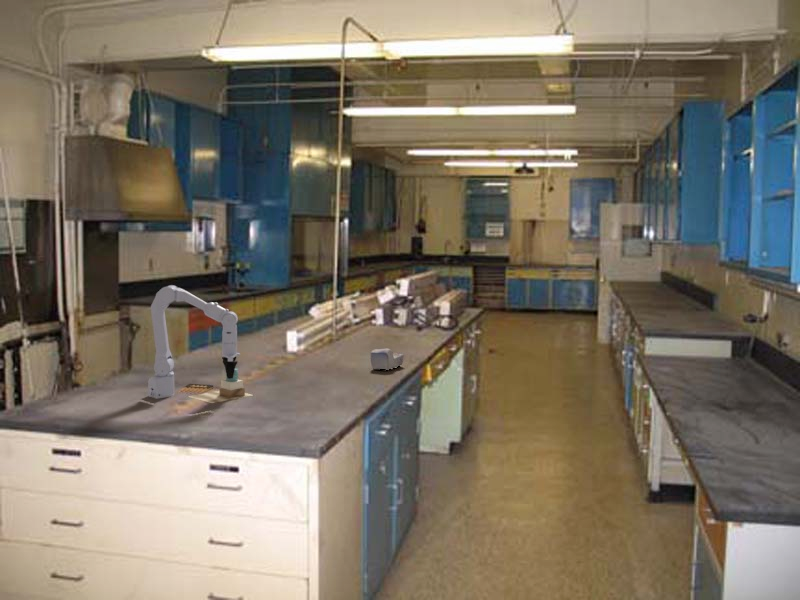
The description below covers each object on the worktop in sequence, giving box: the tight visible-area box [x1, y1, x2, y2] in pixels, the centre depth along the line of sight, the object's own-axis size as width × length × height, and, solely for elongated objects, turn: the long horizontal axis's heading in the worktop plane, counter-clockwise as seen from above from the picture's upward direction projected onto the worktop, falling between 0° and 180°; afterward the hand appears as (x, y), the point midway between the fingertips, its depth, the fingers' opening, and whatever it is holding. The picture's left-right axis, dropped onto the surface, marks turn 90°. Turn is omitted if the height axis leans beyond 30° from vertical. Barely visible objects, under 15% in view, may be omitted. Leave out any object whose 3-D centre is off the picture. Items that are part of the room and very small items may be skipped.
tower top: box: [220, 379, 244, 390], centre depth 301 cm, size 6×6×3 cm
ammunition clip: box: [177, 383, 214, 395], centre depth 310 cm, size 11×2×12 cm
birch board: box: [188, 390, 253, 404], centre depth 301 cm, size 20×16×1 cm
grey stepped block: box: [370, 347, 405, 371], centre depth 371 cm, size 13×11×20 cm
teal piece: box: [225, 367, 239, 382], centre depth 301 cm, size 4×4×4 cm
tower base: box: [218, 387, 246, 398], centre depth 302 cm, size 7×7×3 cm
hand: (229, 376), depth 301 cm, fingers open, 7 cm apart
